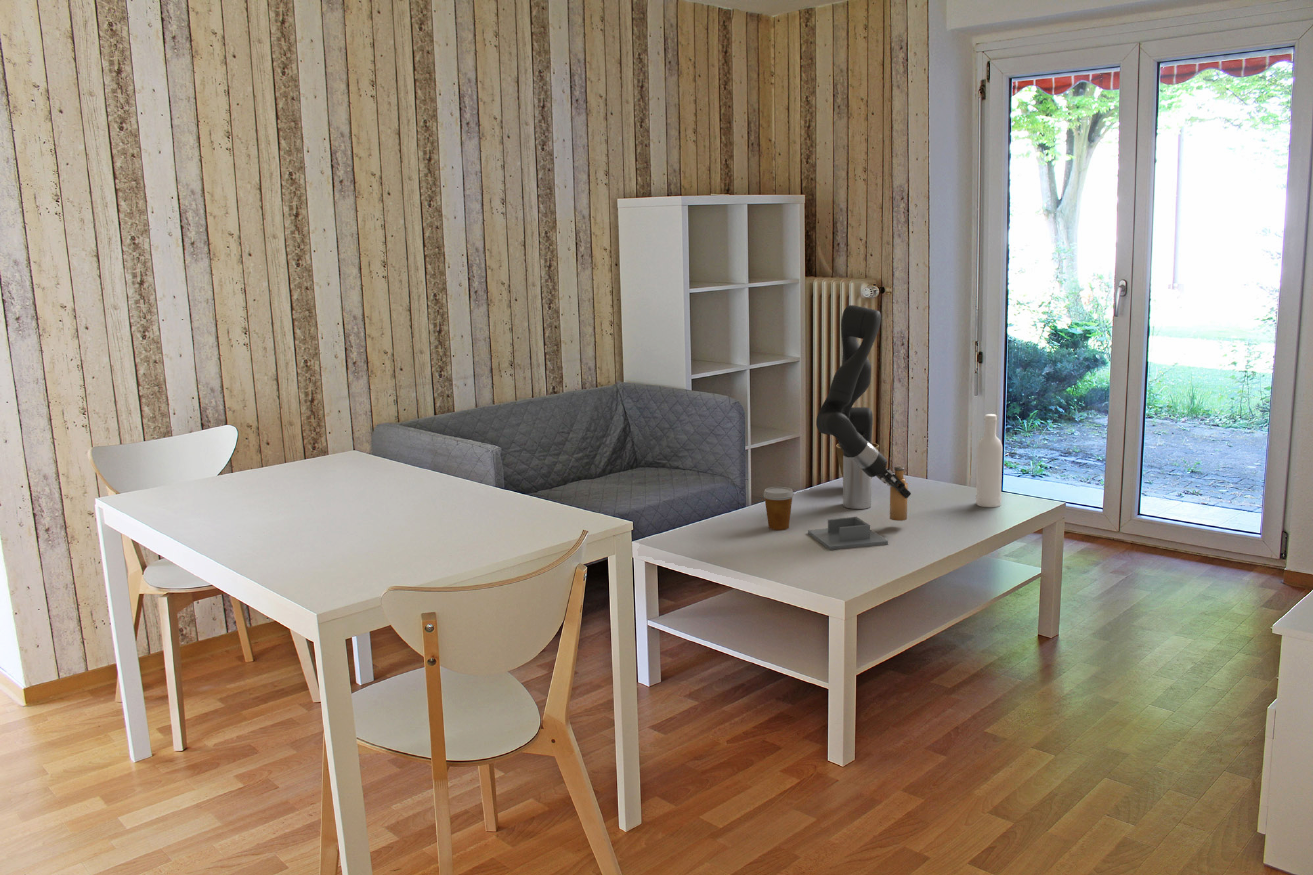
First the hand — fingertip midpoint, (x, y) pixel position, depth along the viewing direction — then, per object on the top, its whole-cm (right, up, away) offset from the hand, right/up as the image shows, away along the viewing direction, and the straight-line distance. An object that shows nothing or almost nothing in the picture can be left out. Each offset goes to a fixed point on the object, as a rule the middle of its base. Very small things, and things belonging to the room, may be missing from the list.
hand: (904, 493), depth 313 cm
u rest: (-19, -13, -9) cm, 25 cm away
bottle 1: (-2, -8, +1) cm, 8 cm away
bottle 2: (+34, -5, +24) cm, 42 cm away
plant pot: (-4, -1, +51) cm, 51 cm away
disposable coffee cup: (-38, -11, +6) cm, 40 cm away
